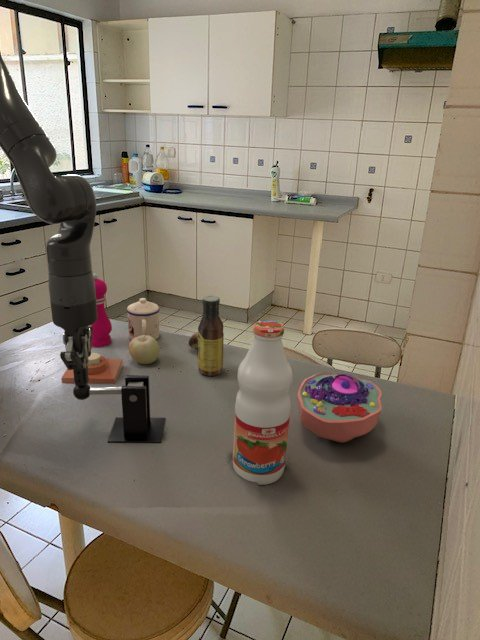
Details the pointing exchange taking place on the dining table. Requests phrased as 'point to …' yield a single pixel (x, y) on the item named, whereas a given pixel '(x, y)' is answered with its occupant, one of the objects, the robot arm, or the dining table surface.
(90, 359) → the button
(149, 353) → the fruit
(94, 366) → the tiered orange pedestal
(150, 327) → the teacup with lid
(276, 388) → the fruit juice
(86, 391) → the tap lever
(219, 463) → the dining table surface
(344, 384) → the cell model
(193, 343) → the mushroom
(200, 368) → the sauce bottle
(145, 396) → the bracket
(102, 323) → the pepper mill
